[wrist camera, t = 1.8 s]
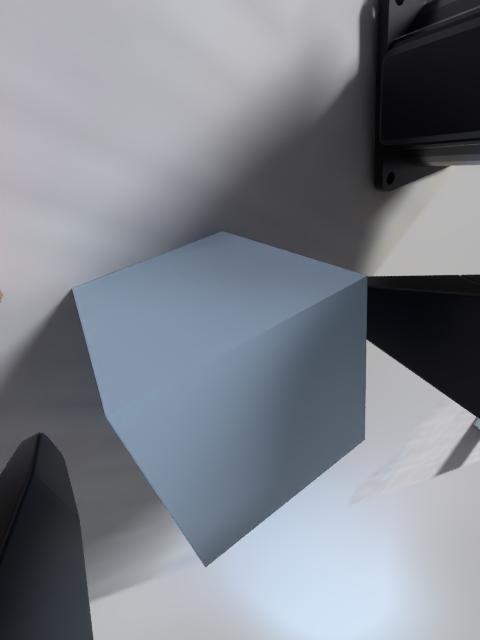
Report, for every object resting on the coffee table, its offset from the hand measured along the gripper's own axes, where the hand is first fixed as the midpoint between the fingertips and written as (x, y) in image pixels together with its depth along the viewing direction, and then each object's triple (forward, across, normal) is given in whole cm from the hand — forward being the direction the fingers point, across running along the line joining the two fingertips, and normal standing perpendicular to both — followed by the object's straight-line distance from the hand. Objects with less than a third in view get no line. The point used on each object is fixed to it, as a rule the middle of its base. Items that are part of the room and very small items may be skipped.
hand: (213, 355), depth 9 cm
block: (+3, 0, 0) cm, 3 cm away
